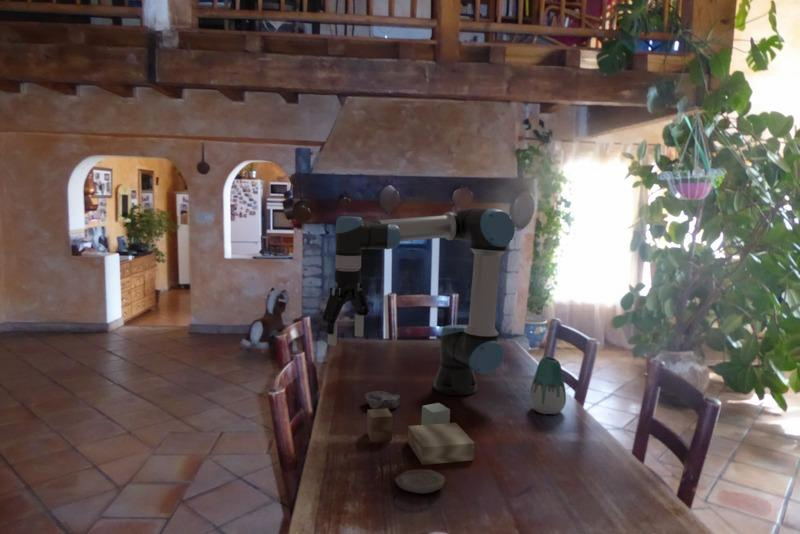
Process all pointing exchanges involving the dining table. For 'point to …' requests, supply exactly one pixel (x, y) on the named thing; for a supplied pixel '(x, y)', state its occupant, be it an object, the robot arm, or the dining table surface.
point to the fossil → (420, 481)
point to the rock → (382, 400)
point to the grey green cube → (435, 414)
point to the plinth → (440, 443)
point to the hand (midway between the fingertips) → (345, 340)
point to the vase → (548, 387)
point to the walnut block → (379, 424)
